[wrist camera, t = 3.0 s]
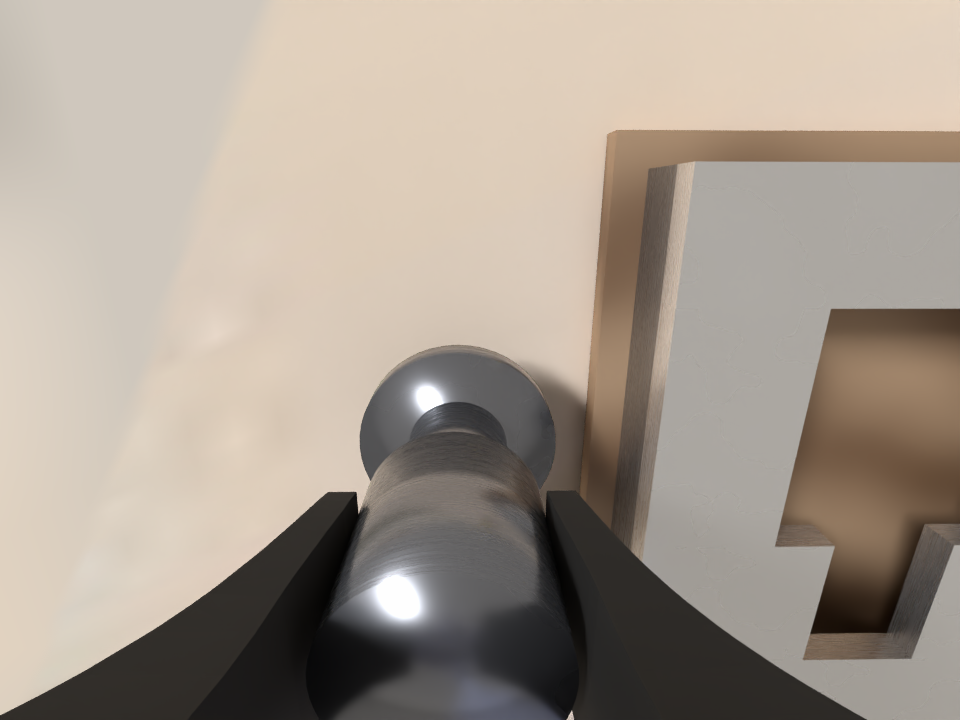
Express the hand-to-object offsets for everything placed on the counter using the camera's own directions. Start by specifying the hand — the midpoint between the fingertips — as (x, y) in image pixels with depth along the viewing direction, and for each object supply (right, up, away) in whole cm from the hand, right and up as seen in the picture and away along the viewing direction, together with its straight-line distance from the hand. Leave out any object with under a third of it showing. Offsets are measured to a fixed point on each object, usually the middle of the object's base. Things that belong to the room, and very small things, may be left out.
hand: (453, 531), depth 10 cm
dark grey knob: (0, +1, +4) cm, 4 cm away
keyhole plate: (+13, 0, +7) cm, 15 cm away
